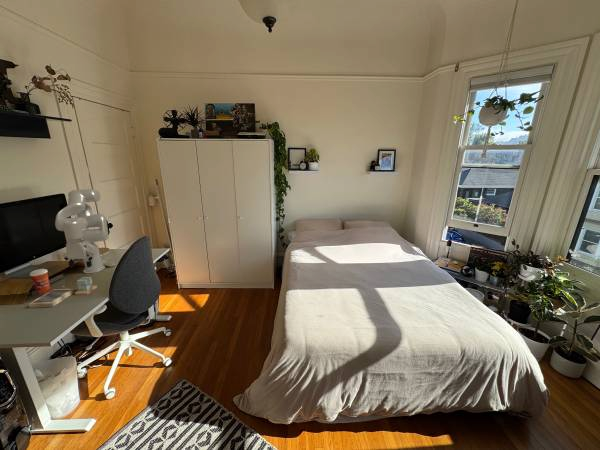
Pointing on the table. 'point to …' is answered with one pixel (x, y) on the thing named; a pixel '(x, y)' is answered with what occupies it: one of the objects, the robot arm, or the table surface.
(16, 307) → the table surface
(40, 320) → the table surface
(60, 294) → the wooden picture frame
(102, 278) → the table surface
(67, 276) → the table surface
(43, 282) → the paper cup
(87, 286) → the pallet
